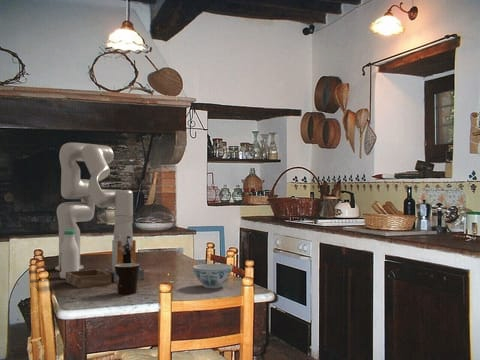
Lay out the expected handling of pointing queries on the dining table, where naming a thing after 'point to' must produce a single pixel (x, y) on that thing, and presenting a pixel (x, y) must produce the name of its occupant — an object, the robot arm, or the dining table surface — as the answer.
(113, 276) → the frame
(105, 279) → the walnut trough
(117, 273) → the coffee mug
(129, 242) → the robot arm
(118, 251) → the small box
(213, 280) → the chinaware
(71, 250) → the milk bottle
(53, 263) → the dining table surface
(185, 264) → the dining table surface
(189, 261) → the dining table surface
